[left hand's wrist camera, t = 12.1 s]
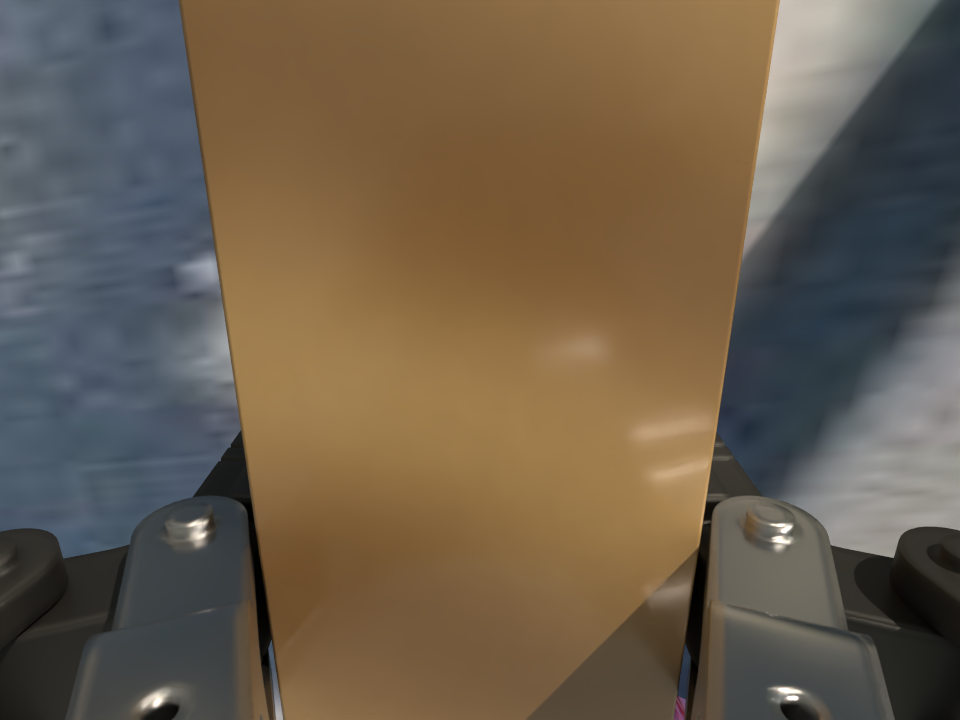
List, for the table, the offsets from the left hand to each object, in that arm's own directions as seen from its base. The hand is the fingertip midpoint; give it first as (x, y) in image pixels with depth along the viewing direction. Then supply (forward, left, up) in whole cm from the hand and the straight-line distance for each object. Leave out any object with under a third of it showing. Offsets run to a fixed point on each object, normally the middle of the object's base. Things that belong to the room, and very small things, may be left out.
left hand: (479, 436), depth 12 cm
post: (-15, +11, -2) cm, 19 cm away
